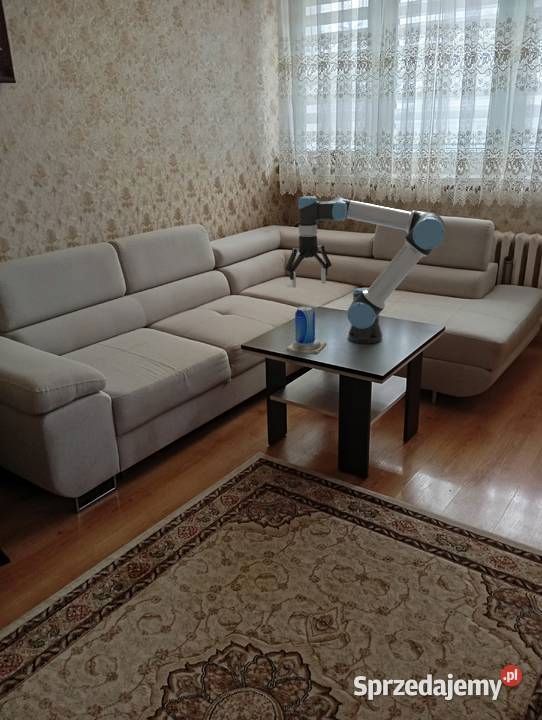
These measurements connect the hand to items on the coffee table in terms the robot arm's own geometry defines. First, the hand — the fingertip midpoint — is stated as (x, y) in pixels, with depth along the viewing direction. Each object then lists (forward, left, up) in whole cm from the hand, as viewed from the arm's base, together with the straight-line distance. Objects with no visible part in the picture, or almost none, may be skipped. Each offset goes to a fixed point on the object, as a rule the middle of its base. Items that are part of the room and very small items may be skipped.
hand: (308, 285), depth 259 cm
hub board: (0, +3, -27) cm, 27 cm away
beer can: (0, +4, -25) cm, 25 cm away
